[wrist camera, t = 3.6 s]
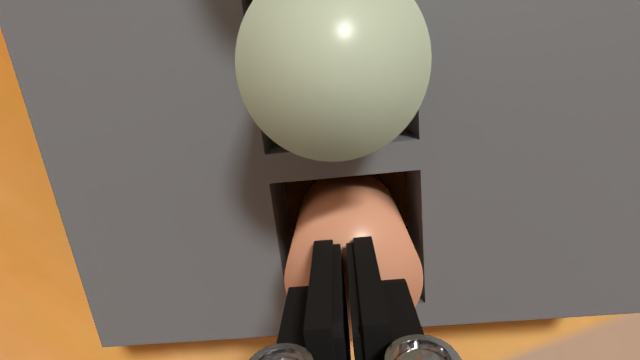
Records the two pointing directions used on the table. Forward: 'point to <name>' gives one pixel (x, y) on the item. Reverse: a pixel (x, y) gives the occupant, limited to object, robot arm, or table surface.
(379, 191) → the pink egg
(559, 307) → the panel
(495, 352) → the table surface
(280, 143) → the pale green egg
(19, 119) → the table surface
